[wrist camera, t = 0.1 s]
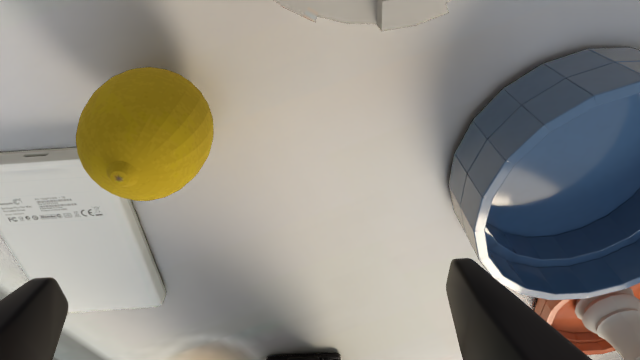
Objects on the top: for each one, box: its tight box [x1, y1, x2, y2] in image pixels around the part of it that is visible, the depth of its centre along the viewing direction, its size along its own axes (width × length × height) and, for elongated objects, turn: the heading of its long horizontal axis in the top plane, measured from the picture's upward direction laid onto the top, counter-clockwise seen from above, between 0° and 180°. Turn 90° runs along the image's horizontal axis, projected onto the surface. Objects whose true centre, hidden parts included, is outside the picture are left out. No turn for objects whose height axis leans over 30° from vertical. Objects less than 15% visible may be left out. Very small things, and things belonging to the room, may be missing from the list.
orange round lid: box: [534, 283, 640, 355], centre depth 32 cm, size 10×10×2 cm
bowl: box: [449, 47, 640, 300], centre depth 23 cm, size 14×14×5 cm
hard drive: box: [0, 147, 166, 313], centre depth 26 cm, size 2×8×12 cm
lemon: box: [76, 67, 213, 201], centre depth 19 cm, size 6×6×8 cm
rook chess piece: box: [575, 288, 640, 360], centre depth 29 cm, size 4×4×8 cm
